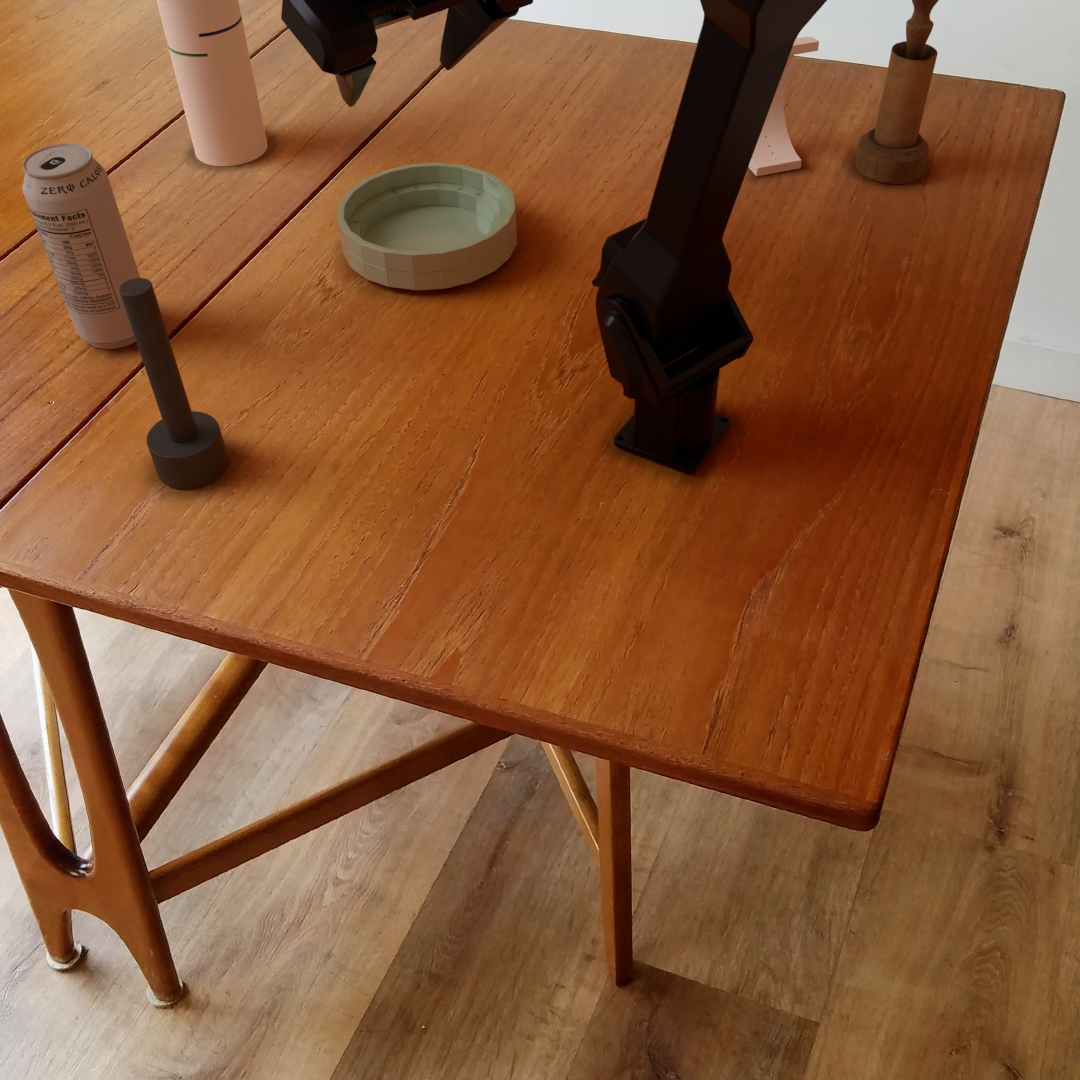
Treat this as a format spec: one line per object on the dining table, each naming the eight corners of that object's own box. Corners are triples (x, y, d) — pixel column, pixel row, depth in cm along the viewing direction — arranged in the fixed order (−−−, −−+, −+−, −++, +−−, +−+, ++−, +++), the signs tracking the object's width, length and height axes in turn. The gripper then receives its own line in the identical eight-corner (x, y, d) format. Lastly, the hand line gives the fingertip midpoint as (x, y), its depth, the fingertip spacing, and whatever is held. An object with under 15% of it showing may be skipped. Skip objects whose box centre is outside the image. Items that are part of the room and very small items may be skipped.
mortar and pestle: (925, 187, 107) (973, -15, 94) (853, 181, 108) (891, -20, 95) (923, 153, 111) (969, -45, 98) (854, 148, 112) (891, -49, 99)
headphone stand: (756, 176, 109) (771, 49, 100) (730, 147, 113) (742, 23, 104) (800, 168, 110) (819, 41, 101) (773, 140, 114) (788, 15, 105)
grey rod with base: (194, 499, 80) (134, 318, 69) (142, 474, 82) (76, 295, 71) (243, 457, 83) (193, 278, 72) (192, 434, 85) (135, 256, 74)
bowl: (452, 315, 94) (448, 273, 91) (308, 265, 100) (300, 223, 97) (549, 229, 103) (548, 188, 100) (411, 187, 109) (407, 148, 106)
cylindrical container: (274, 157, 114) (218, -124, 96) (202, 172, 112) (131, -112, 94) (259, 126, 118) (202, -147, 100) (189, 140, 117) (119, -136, 99)
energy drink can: (170, 320, 95) (117, 148, 84) (121, 360, 91) (59, 186, 80) (113, 302, 97) (54, 133, 86) (63, 341, 93) (-5, 169, 82)
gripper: (473, -206, 81) (434, -22, 94) (240, -148, 72) (234, 44, 86) (569, -97, 79) (514, 75, 92) (339, -25, 70) (317, 152, 84)
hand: (397, 83), depth 89 cm, fingers open, 9 cm apart
